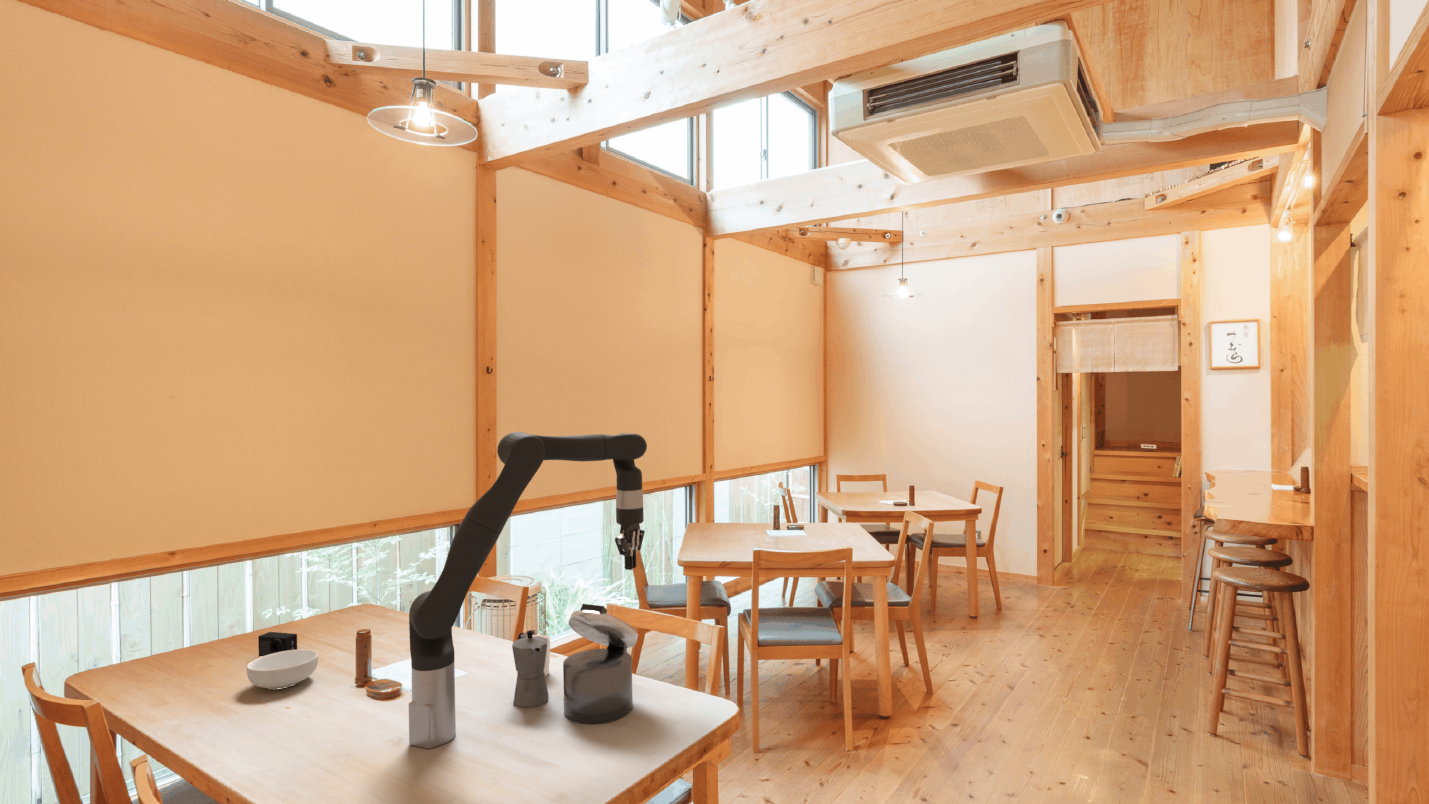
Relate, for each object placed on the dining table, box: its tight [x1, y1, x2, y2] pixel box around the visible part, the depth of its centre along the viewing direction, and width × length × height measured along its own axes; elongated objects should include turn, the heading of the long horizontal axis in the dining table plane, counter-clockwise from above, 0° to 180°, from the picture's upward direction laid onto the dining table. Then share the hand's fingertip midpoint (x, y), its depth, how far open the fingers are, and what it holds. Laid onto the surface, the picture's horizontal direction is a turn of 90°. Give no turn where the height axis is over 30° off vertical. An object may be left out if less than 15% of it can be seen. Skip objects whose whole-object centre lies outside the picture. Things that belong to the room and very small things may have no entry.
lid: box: [568, 603, 639, 649], centre depth 176 cm, size 19×18×3 cm
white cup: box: [532, 634, 551, 677], centre depth 195 cm, size 8×8×10 cm
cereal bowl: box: [246, 648, 319, 689], centre depth 191 cm, size 17×17×7 cm
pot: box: [562, 646, 634, 725], centre depth 174 cm, size 19×17×12 cm
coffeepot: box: [511, 630, 549, 709], centre depth 179 cm, size 15×9×18 cm, turn 33°
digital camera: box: [257, 631, 298, 657], centre depth 211 cm, size 10×5×7 cm, turn 76°
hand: (630, 568), depth 189 cm, fingers closed
